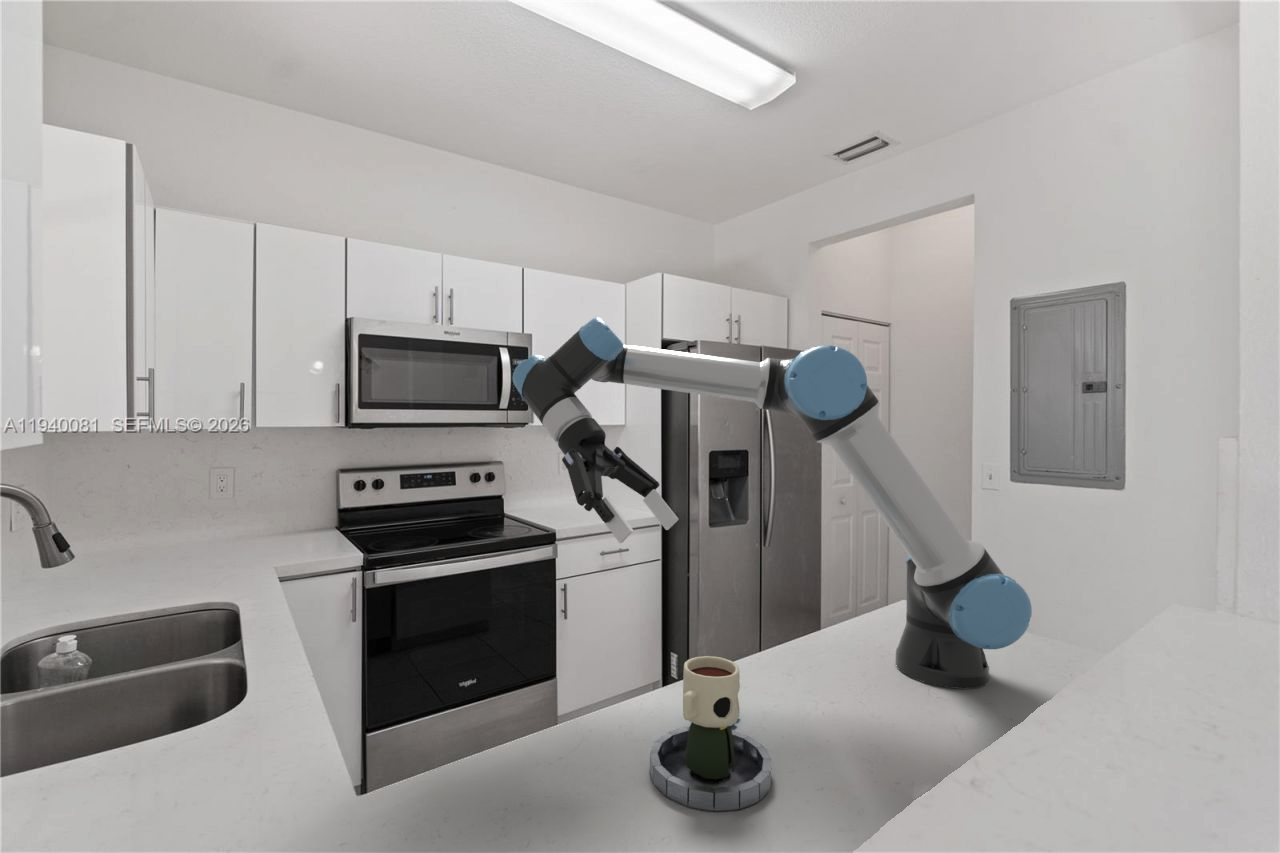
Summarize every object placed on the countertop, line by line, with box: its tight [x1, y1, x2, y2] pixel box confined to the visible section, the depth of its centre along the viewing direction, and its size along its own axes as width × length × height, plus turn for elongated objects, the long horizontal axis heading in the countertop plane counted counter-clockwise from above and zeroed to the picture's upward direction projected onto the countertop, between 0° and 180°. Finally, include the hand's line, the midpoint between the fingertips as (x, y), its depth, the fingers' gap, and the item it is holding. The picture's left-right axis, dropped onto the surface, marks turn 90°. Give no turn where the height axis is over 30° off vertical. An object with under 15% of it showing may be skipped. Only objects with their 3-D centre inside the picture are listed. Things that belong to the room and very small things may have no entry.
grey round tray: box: [648, 726, 773, 813], centre depth 75 cm, size 15×15×2 cm
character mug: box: [682, 655, 741, 779], centre depth 75 cm, size 11×7×13 cm, turn 138°
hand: (651, 530), depth 91 cm, fingers open, 13 cm apart
